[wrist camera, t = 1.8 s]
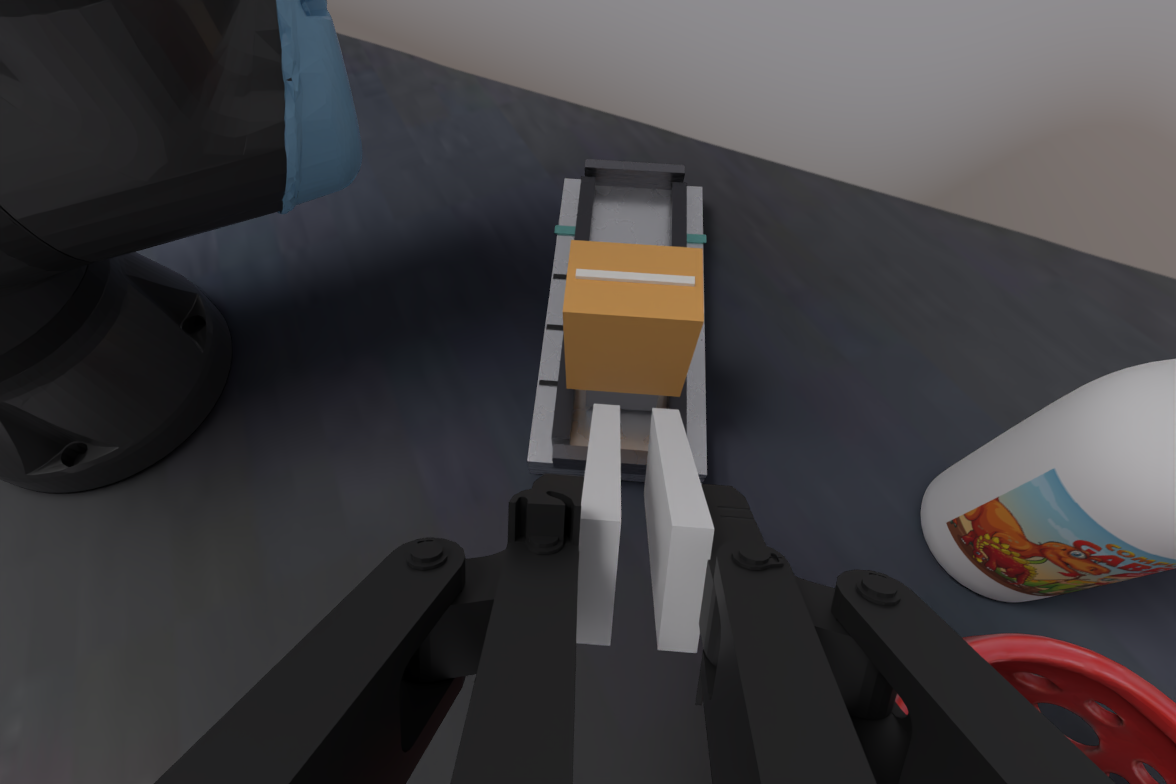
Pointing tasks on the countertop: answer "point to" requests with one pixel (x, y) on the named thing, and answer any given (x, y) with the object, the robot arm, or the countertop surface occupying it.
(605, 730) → the countertop surface
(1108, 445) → the milk bottle
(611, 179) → the fader strip
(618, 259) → the fader knob
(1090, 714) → the plant pot
